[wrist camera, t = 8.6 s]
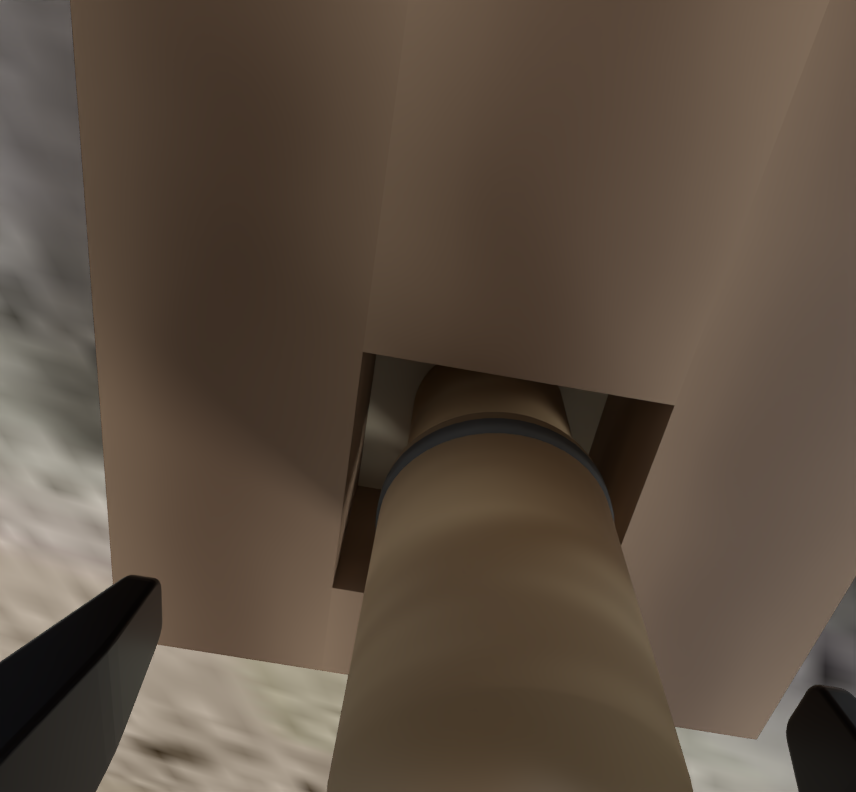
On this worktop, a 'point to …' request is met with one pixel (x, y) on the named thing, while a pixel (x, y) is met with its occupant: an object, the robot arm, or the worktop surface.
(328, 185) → the walnut socket block
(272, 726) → the worktop surface
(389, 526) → the oak peg
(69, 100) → the worktop surface
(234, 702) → the worktop surface
